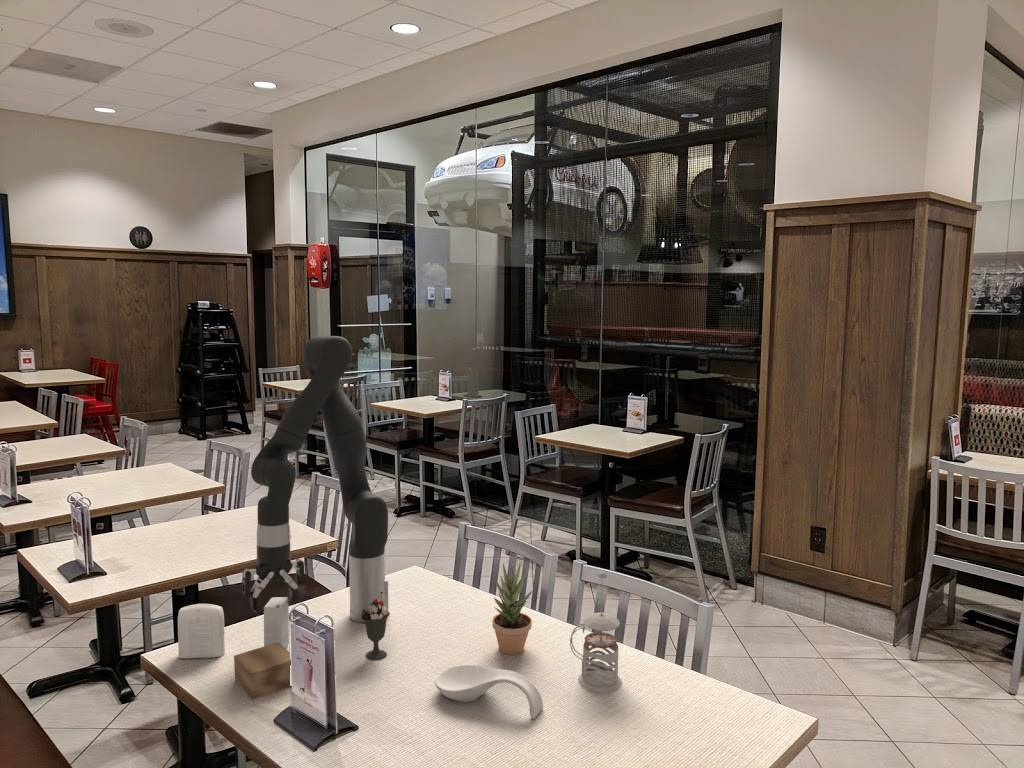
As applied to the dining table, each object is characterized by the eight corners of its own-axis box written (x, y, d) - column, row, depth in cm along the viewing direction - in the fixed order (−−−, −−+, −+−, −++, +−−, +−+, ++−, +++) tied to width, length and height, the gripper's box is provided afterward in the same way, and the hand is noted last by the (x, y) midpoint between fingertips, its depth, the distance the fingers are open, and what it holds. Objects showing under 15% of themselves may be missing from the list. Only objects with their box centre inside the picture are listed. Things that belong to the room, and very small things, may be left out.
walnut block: (279, 667, 168) (278, 642, 167) (297, 684, 160) (296, 658, 159) (235, 681, 161) (233, 655, 161) (252, 700, 154) (251, 673, 153)
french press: (621, 695, 157) (624, 582, 154) (566, 689, 159) (568, 577, 156) (623, 672, 166) (626, 565, 163) (572, 666, 168) (574, 561, 166)
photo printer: (227, 649, 175) (225, 599, 174) (222, 658, 171) (220, 607, 170) (182, 652, 174) (179, 602, 173) (176, 660, 170) (173, 609, 168)
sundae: (393, 649, 176) (393, 589, 175) (386, 662, 170) (385, 600, 168) (366, 647, 177) (365, 587, 175) (358, 661, 170) (357, 599, 169)
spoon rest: (424, 701, 154) (424, 668, 153) (452, 675, 165) (452, 645, 164) (528, 730, 144) (528, 695, 143) (550, 701, 155) (551, 668, 154)
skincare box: (272, 644, 178) (270, 596, 177) (290, 644, 178) (289, 596, 177) (263, 656, 172) (261, 607, 171) (282, 656, 172) (280, 607, 171)
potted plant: (531, 658, 172) (532, 557, 169) (491, 657, 172) (491, 556, 170) (531, 639, 182) (532, 542, 179) (493, 638, 182) (493, 542, 179)
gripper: (297, 531, 179) (297, 595, 181) (237, 541, 171) (238, 608, 173) (308, 540, 173) (309, 606, 175) (247, 550, 165) (248, 619, 167)
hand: (274, 607), depth 174 cm, fingers open, 8 cm apart
